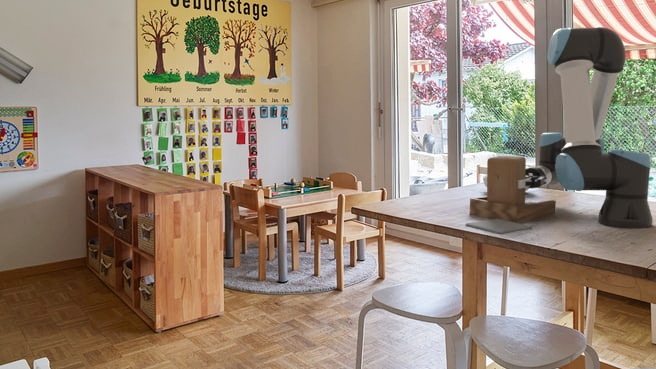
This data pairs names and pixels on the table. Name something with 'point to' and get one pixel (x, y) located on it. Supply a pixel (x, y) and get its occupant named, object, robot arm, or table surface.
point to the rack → (512, 210)
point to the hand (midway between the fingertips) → (502, 182)
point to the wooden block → (506, 180)
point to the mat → (498, 226)
